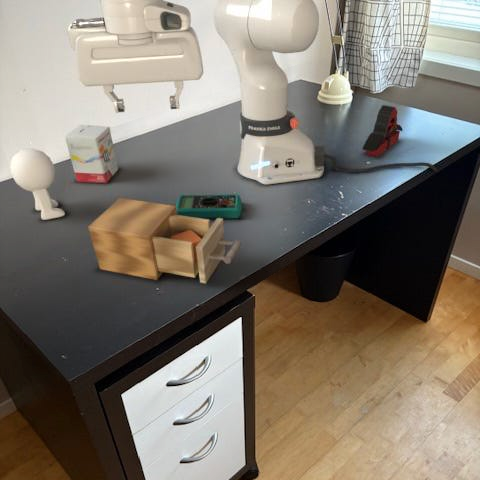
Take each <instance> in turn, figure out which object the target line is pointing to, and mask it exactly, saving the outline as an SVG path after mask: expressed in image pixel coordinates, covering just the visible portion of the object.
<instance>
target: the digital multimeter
mask: <svg viewBox="0 0 480 480" xmlns="http://www.w3.org/2000/svg"><path fill="white" fill-rule="evenodd" d="M242 204H243V202H242V198H241V196H240V195H239V194H237V193H233V194H231V193H230V194H229V193H228V194H181V195H179V196H178V197H177V200H176V202H175V206H176V208H177V215H181V216H188V217H195V218H201V219H208V220H210V219H212V220H213V219H215V220H216V219H217V218H221V219H239V217H240V215H241V214H242V212H243V205H242Z"/></svg>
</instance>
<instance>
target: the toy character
mask: <svg viewBox="0 0 480 480" xmlns="http://www.w3.org/2000/svg"><path fill="white" fill-rule="evenodd" d="M9 167H10V172H11V177H12V178H13V180H14V182H15V183H16V185H18V186H19V187H20V188H22V189H23V190H24V191H28V192H32V194H33V197H34V202H35V203H34V207H35V210H36V211H40V218H41V220H45V221H47V220H51V219H56V218H57V219H58V218H61V217H64V216H65V215H66V213H65V211H64V210H63V209H62V208H60V207H58V206H59V203H58V202H57V200H55V199H52V198H51V195H50V192H49V190H48V189H49V188H50V187H51V186H52V185H53V183H54V182H55V179H56V169H55V165H54V163H53V161H52V159H51V157H50V156H49V155H47V153H45V152H44V151H43V150H39V149H37V148H24V149H21V150H19V151H16V153H15V154H14V155H13V156H12V158H11V161H10V166H9Z"/></svg>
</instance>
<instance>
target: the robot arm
mask: <svg viewBox="0 0 480 480" xmlns="http://www.w3.org/2000/svg"><path fill="white" fill-rule="evenodd" d="M100 5H101V11H102V17H93V18H87V19H85V18H77V19H75V20H74V22H72V23H70V25H69V26H68V29H67V36H68V40H69V44H70V47H71V48H72V49H73V51H74V53H75V64H76V70H77V76H78V80H79V82H81V84H82V85H83V86H84V87H100V86H101V87H103V91H104V94H105V95H106V96H107V97H108V99H109V100H110V101H111V102H112V103H113V107H114V112H115V113H125V111H126V106H125V101H124V98H119V97H118V96H117V95H116V93H115V92H114V89H115V86H118V85H119V86H120V85H132V84H133V85H134V84H135V85H136V84H152V83H167V82H168V83H169V82H174V88H175V89H176V90H175V93H174V95H169V104H170V110H179V109H180V96H181V95H182V92H183V89H184V81H198V80H201V78H202V77H203V75H204V65H203V64H204V63H203V57H202V51H201V47H200V42H199V37H198V35H197V32H196V31H195V29H194V28H193V27H192V26H191V24H192V15H191V12H190V10H189V8H187V7H186V6H184V5H180V4H178V3H174V2H170V1H167V0H100ZM213 23H214V28H215V31H216V33H217V34H218V36H219V37H220V38H221V40H223V41H224V43H225V44H226V46H227V47H228V49H229V51H230V54H231V56H232V59H233V61H234V64H235V67H236V70H237V73H238V74H237V75H238V79H239V85H240V86H239V87H240V98H241V99H240V100H241V101H240V103H241V113H240V115H239V134H240V137H241V143H240V144H241V145H240V147H241V148H240V154H239V159H238V164H237V169H236V170H237V172H238V173H239V174H240V175H241V176H243V177H244V178H247V179H250V180H253V181H257V182H258V183H260V184H262V185H272V184H274V185H275V184H281V183H289V182H296V181H305V180H311V179H312V180H313V179H318V178H319V179H320V177H322V176H323V174H324V172H325V159H328V160H331V161H332V168H333V169H334V170H335V171H337V172H343V173H350V174H353V173H366V172H367V173H368V172H372V171H376V170H382V169H389V168H397V167H427V168H429V169H431V170H433V171H434V172H439V169H438V168H437V167H436V166H435V165H434V164H431V163H429V162H397V163H388V164H380V165H377V166H371V167H367V168H351V169H342V168H340V167H338V166H337V165H336V164H337V159H336V158H335V157H334V156H332V155H328V154H326V153H325V146H321V145H314V142H313V141H312V139H311V138H310V137H309V136H308V135H307V134H305V133H303V132H302V131H301V130H300V129H298V127H299V125H300V124H299V122H300V121H299V120H298V118H297V117H296V115H295V114H294V112H293V111H292V110H290V111H289V110H288V101H289V100H288V97H289V79H288V77H287V74H286V72H285V71H284V70H283V69H282V68H281V67H280V66H279V64H278V63H277V61H276V59H275V56H274V53H277V54H278V53H279V54H295V53H302V52H305V51H307V50H308V49H309V48H310V47H311V46H312V45H313V43H314V42H315V40H316V38H317V36H318V32H319V27H320V13H319V10H318V7H317V5H316V3H315V1H314V0H216V3H215V6H214V10H213Z"/></svg>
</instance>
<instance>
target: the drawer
mask: <svg viewBox="0 0 480 480" xmlns="http://www.w3.org/2000/svg"><path fill="white" fill-rule="evenodd" d="M188 230H192V231H193V232H194V233H195V234H196V235H198V236H199V237H200V238H201V239H202V240H201V241H200V242H199V244H198V245H197V247H196V251H197V260H198V262H196V263H195V260H194V252H193V243H192V242H186V241H180V240H174V239H170V237H171V236H174V235H177V234H179V233H182V232H185V231H188ZM152 244H153V249H154V254H155V260H156V265H157V270H158V271H161V272H163V273H167V274H171V275H177V276H183V277H189V278H196V277H197V275H198V277H199V283H201V284H207V282H208V281H209V279H210V278H211V276H212V275H213V273H214V271H215V270H216V268H217V267H218V265H219V264H220V262H221V261H223V262H224V264H226V265H229V264H231V263H232V261H233V259H234V258H235V256H236V255H237V253H238V251H239V250H240V247H241V246H242V242H241V240H240V239H236V240H234V241H233V240H231V241H230V240H225V229H224V218H217V219H215V220H214V222H213V223H212V224H211V221H210V219H201V218H195V217H188V216H181V215H175V214H172V216H171V217H170V218H169V219H168V220H167V221H166V222H165V224H164V225H163V226H162V227H161V228H160V229H159V231H158V232H157V233H156V234H155V235H154V236H153V237H152ZM226 246H230V247H229V249H228V251H227V253H226Z"/></svg>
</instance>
